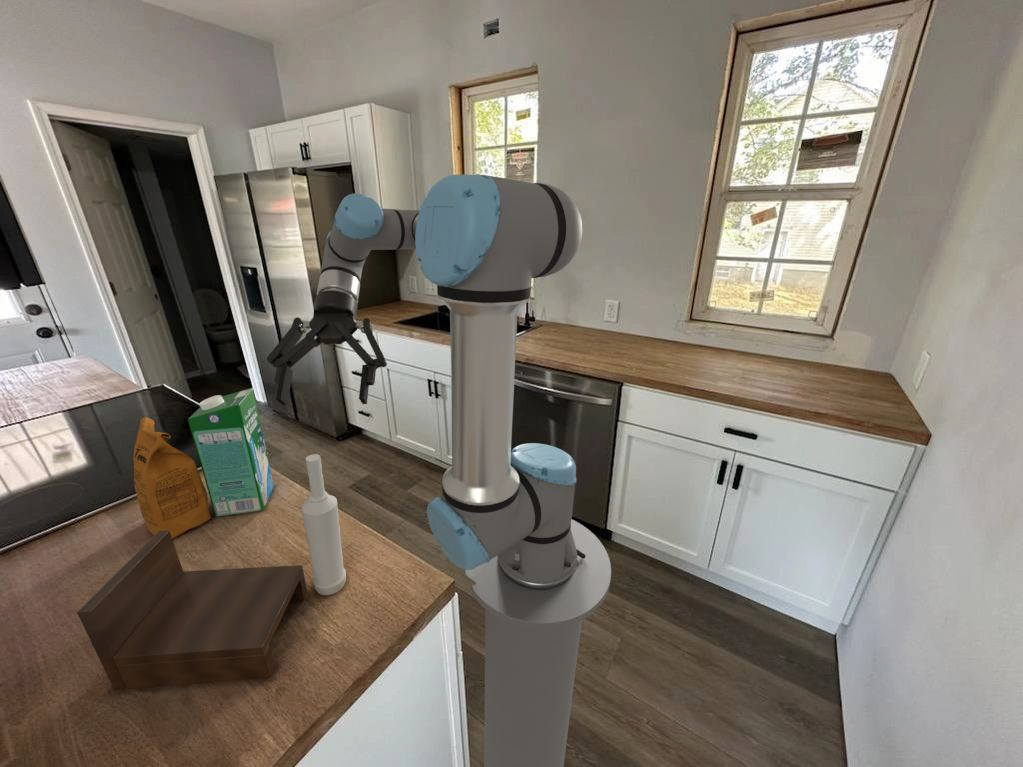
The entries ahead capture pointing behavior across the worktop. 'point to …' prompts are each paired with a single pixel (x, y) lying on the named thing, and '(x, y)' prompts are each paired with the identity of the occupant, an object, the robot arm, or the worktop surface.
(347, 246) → the robot arm
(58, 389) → the worktop surface
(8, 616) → the worktop surface
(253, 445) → the milk carton
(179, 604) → the shelf
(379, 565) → the worktop surface
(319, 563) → the bottle
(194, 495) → the coffee package
